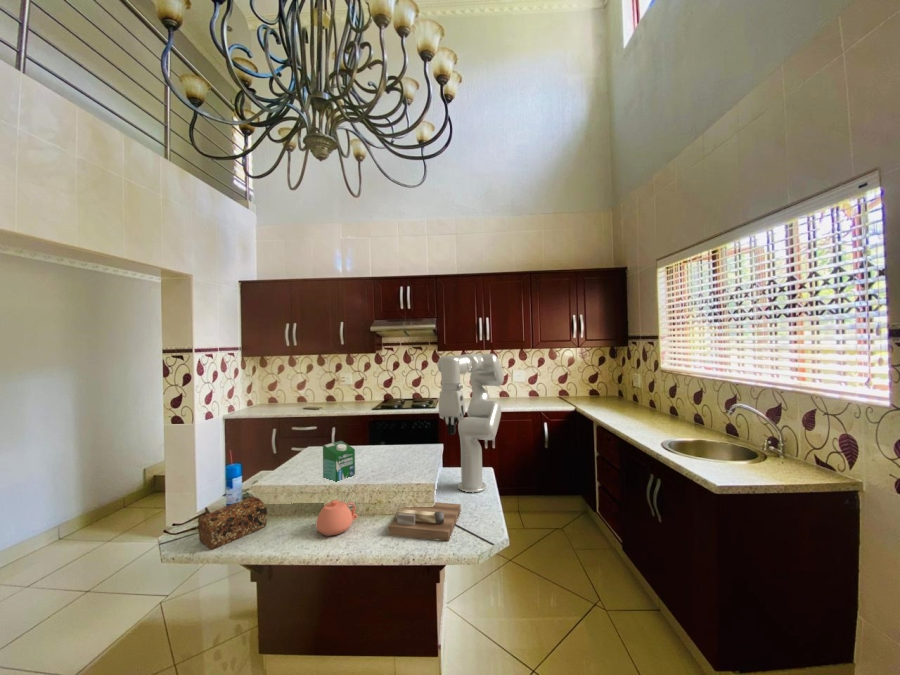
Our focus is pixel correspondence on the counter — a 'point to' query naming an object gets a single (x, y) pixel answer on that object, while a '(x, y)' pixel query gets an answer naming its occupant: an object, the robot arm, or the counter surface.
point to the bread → (232, 522)
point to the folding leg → (425, 516)
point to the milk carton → (338, 461)
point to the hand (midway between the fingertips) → (451, 434)
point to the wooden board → (426, 523)
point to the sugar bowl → (335, 517)
